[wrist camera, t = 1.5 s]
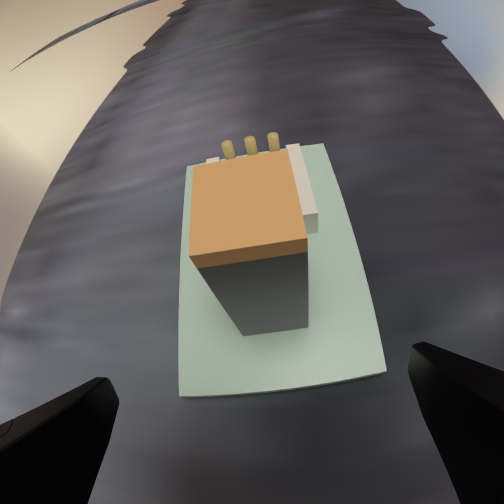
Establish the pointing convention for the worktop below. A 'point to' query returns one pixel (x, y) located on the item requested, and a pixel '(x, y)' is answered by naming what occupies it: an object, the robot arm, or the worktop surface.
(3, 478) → the robot arm
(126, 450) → the worktop surface
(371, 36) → the worktop surface
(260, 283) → the plug
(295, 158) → the board
